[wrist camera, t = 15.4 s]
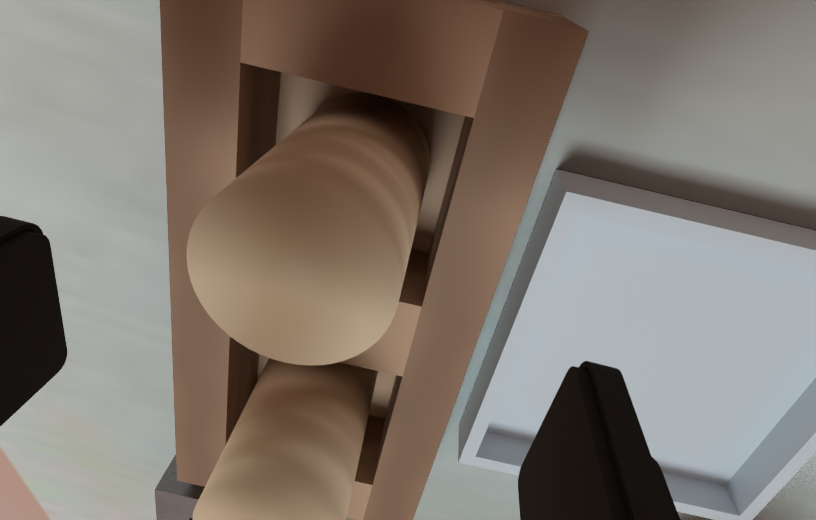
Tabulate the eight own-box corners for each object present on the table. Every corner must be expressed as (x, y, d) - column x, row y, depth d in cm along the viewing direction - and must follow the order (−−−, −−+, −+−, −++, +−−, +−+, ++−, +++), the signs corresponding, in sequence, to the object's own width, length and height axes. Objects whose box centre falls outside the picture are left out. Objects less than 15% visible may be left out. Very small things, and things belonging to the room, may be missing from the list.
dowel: (443, 108, 16) (419, 205, 9) (416, 230, 18) (381, 383, 11) (307, 78, 16) (183, 153, 9) (297, 204, 18) (189, 341, 12)
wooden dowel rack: (560, 15, 15) (588, 31, 12) (416, 454, 25) (408, 531, 22) (228, -65, 15) (157, -74, 12) (216, 409, 25) (177, 480, 22)
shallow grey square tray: (921, 255, 18) (970, 286, 16) (725, 486, 24) (745, 526, 23) (556, 169, 17) (566, 191, 16) (458, 426, 24) (458, 462, 22)
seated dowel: (388, 326, 21) (350, 505, 14) (370, 402, 23) (330, 588, 16) (282, 302, 21) (191, 470, 14) (274, 380, 23) (192, 559, 16)
